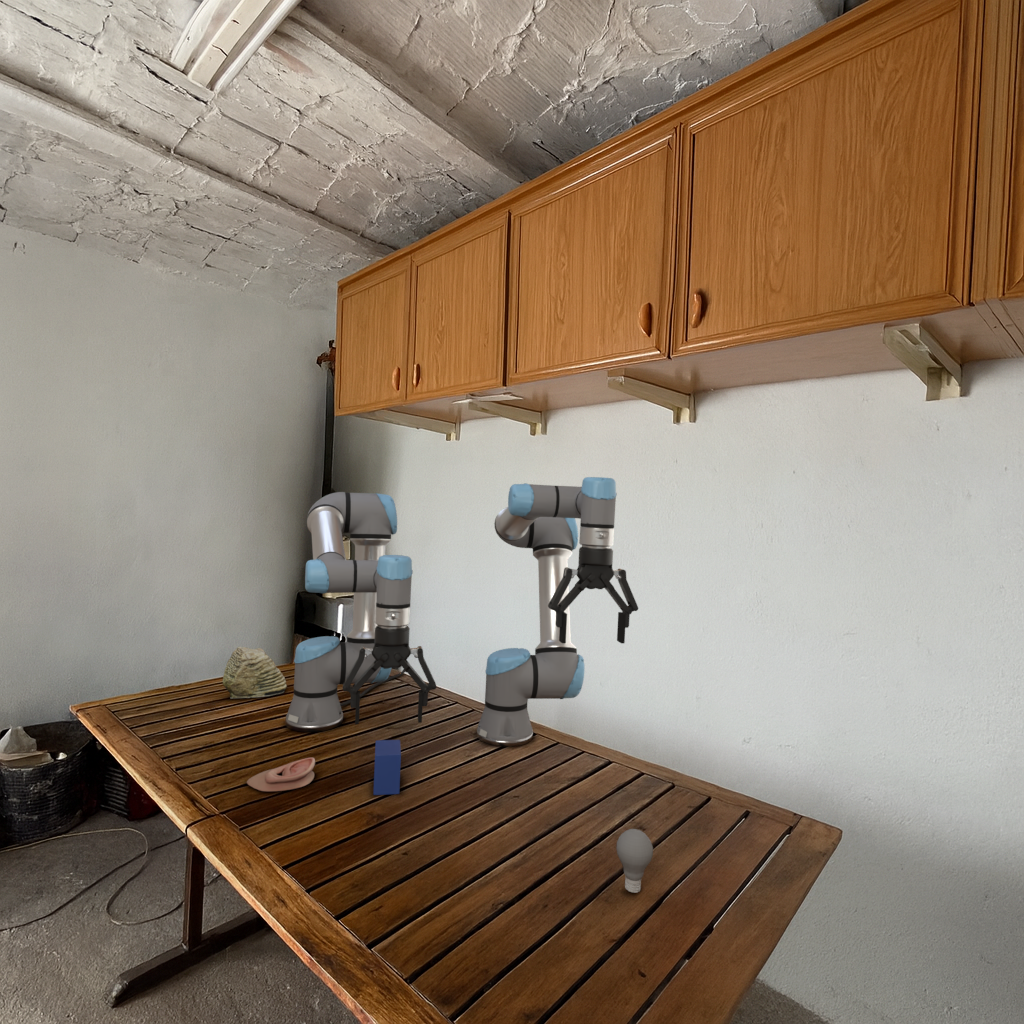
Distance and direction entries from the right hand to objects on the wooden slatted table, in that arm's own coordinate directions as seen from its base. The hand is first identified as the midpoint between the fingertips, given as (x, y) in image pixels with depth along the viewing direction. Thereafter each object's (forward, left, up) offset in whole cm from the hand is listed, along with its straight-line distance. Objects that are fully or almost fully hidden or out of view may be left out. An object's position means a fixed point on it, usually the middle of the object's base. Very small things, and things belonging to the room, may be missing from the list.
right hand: (591, 642), depth 141 cm
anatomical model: (+43, -52, -34) cm, 75 cm away
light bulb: (+26, +25, -34) cm, 49 cm away
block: (+29, -34, -34) cm, 56 cm away
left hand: (+29, -34, -19) cm, 48 cm away
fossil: (+17, -111, -34) cm, 117 cm away
